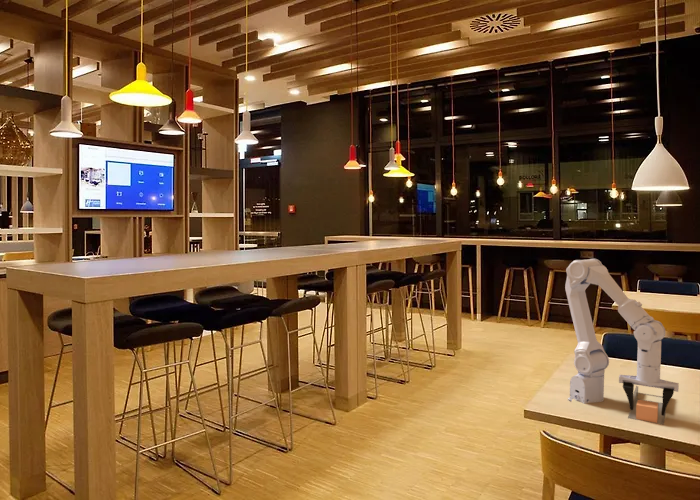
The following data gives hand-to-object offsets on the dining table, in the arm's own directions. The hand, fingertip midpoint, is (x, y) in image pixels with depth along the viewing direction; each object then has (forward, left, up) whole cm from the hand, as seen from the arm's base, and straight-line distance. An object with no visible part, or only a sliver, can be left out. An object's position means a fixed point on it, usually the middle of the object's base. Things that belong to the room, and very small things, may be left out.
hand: (647, 411), depth 147 cm
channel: (+6, +4, -2) cm, 8 cm away
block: (-2, -2, -1) cm, 3 cm away
